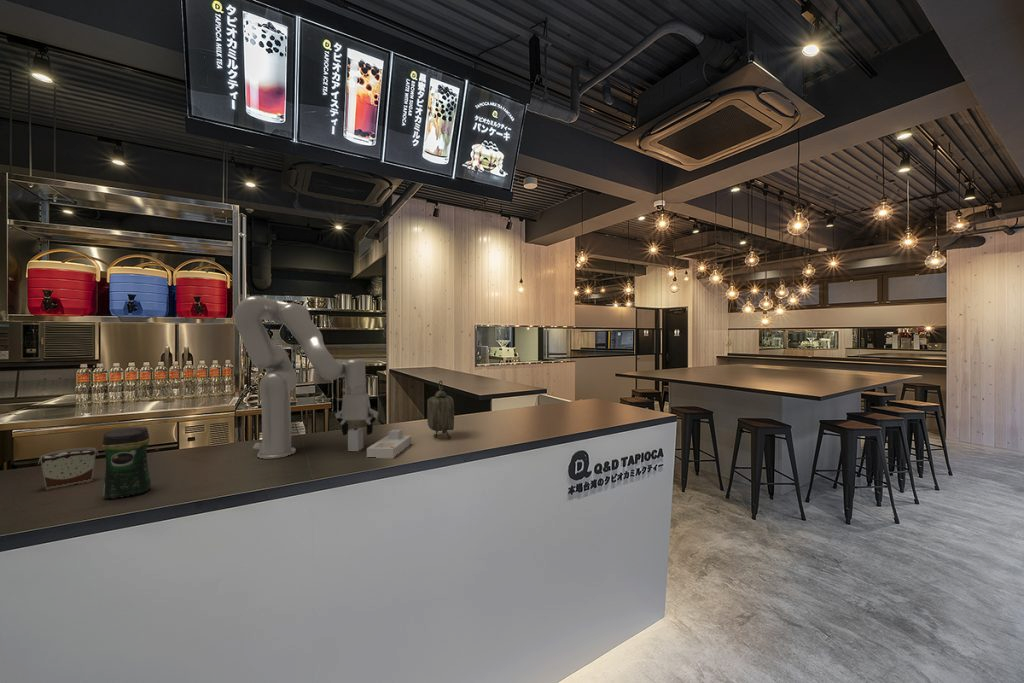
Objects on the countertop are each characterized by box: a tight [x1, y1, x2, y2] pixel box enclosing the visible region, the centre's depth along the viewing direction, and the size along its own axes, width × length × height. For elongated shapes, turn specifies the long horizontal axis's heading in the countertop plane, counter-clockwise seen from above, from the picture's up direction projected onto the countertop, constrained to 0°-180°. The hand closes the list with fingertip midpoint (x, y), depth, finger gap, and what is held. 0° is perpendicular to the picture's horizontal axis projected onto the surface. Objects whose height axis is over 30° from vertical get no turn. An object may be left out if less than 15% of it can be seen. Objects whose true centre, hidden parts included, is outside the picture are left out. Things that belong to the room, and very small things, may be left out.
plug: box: [347, 423, 364, 452], centre depth 160 cm, size 4×5×10 cm
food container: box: [37, 447, 99, 487], centre depth 124 cm, size 12×6×10 cm, turn 141°
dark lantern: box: [426, 380, 455, 440], centre depth 180 cm, size 14×9×25 cm, turn 22°
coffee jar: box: [101, 426, 152, 499], centre depth 116 cm, size 10×8×19 cm
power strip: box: [366, 428, 412, 459], centre depth 159 cm, size 10×20×6 cm, turn 175°
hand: (357, 434), depth 160 cm, fingers open, 9 cm apart
